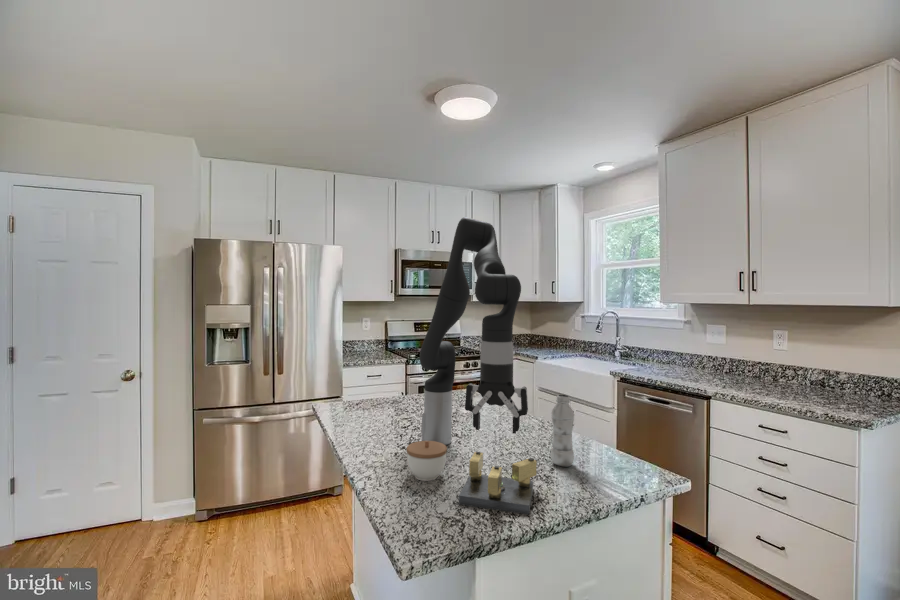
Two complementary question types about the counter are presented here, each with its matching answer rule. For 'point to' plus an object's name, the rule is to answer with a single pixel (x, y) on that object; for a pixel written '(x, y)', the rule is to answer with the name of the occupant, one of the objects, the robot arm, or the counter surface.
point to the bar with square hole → (495, 482)
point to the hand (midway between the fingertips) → (495, 430)
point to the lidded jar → (426, 459)
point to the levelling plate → (510, 500)
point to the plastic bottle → (562, 432)
